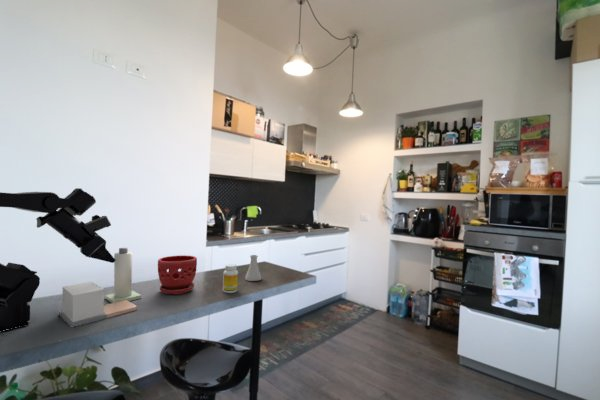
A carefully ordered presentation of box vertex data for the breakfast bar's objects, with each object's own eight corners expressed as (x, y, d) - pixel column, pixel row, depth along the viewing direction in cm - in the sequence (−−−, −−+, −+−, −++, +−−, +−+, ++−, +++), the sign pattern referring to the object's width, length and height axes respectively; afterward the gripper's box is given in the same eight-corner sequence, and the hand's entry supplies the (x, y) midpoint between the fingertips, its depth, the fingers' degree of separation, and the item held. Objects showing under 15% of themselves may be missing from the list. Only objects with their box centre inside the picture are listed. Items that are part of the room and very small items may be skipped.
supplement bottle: (221, 289, 108) (221, 263, 108) (235, 287, 111) (235, 262, 111) (224, 294, 104) (225, 267, 103) (239, 292, 106) (240, 266, 106)
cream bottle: (117, 299, 93) (117, 250, 92) (111, 295, 96) (111, 248, 95) (134, 294, 97) (134, 248, 96) (128, 291, 100) (128, 246, 99)
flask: (242, 277, 125) (243, 254, 124) (258, 276, 128) (259, 253, 128) (247, 282, 118) (247, 258, 118) (264, 280, 121) (264, 257, 121)
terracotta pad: (106, 318, 81) (106, 314, 81) (96, 310, 86) (96, 306, 86) (137, 309, 87) (137, 306, 87) (126, 302, 92) (126, 299, 92)
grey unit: (71, 327, 75) (72, 296, 75) (58, 314, 82) (59, 286, 82) (106, 318, 81) (107, 289, 81) (92, 306, 89) (92, 280, 88)
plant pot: (203, 288, 109) (204, 256, 109) (175, 299, 97) (176, 263, 97) (178, 282, 114) (179, 252, 114) (148, 292, 103) (149, 258, 102)
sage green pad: (114, 304, 91) (114, 301, 91) (104, 298, 96) (105, 295, 96) (141, 298, 97) (141, 295, 97) (131, 292, 102) (131, 289, 102)
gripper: (97, 208, 83) (139, 244, 90) (89, 205, 97) (126, 236, 104) (60, 238, 78) (108, 273, 85) (57, 230, 92) (99, 261, 99)
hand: (111, 258), depth 94 cm, fingers open, 9 cm apart
